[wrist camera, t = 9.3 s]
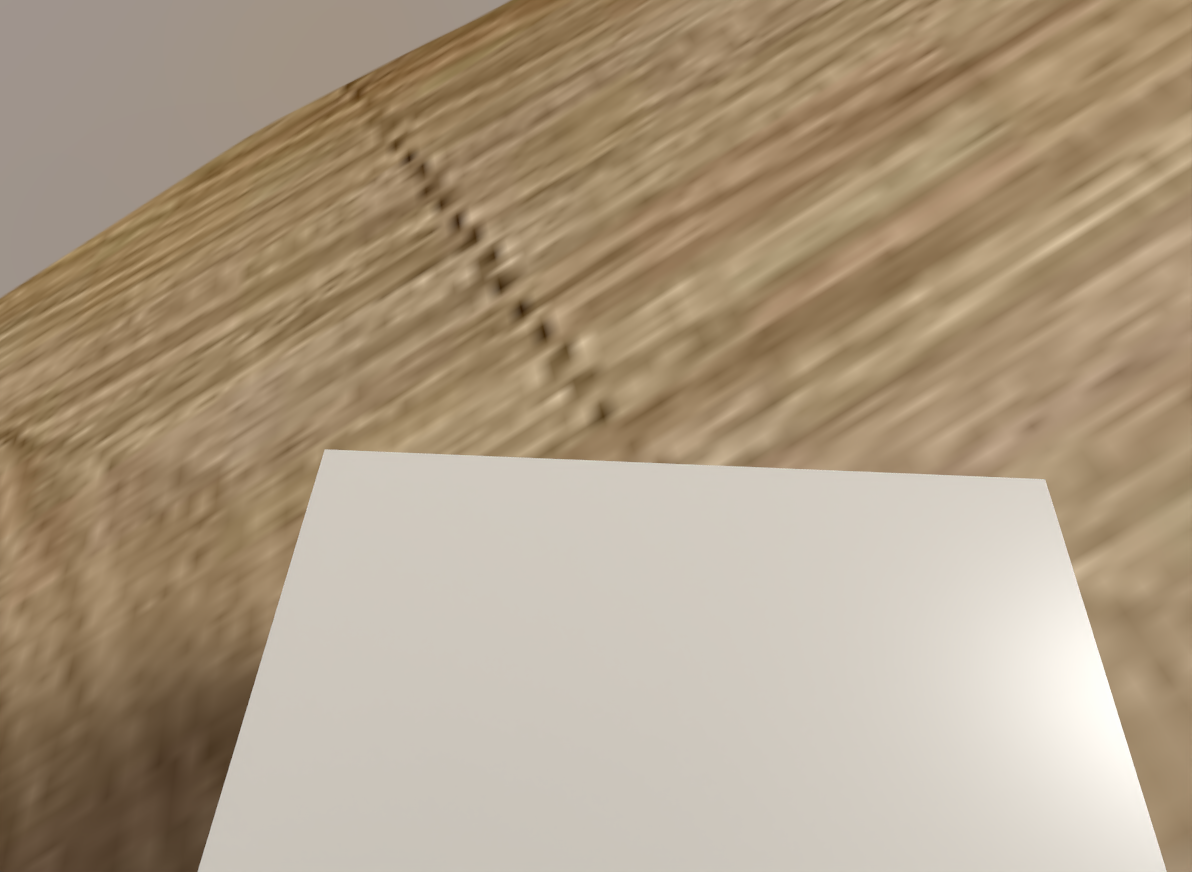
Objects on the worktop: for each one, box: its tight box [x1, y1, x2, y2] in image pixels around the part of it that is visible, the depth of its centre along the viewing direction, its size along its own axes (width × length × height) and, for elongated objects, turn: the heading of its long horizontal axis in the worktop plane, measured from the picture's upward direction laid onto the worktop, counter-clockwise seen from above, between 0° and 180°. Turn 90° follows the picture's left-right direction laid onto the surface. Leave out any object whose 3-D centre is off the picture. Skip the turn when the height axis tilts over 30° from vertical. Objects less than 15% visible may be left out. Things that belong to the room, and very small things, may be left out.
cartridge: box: [198, 450, 1167, 872], centre depth 8 cm, size 5×5×12 cm
